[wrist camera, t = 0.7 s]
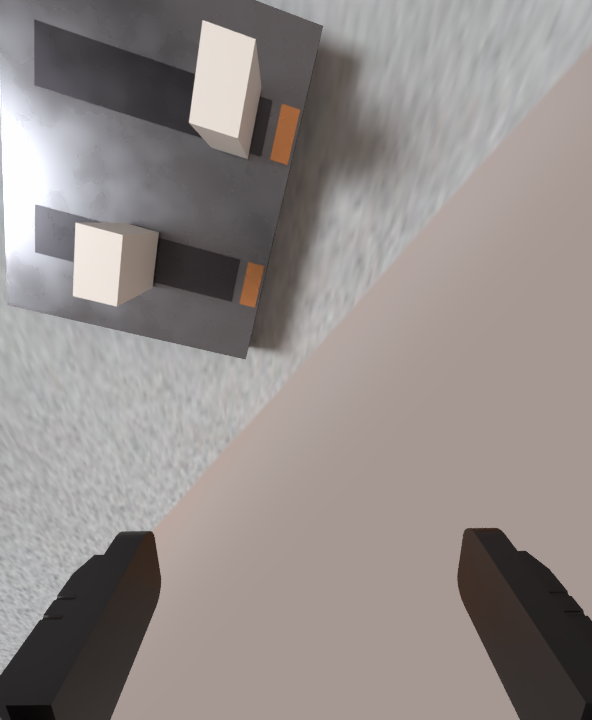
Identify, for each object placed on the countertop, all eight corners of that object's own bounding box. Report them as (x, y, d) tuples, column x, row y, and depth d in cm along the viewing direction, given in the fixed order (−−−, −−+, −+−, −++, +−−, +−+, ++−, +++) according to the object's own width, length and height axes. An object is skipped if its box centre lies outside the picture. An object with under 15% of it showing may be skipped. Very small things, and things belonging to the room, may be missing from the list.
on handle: (211, 147, 22) (188, 122, 17) (222, 74, 21) (202, 19, 15) (247, 159, 23) (237, 138, 17) (261, 87, 21) (255, 39, 16)
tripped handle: (118, 279, 25) (72, 295, 19) (123, 222, 24) (75, 222, 18) (152, 288, 25) (116, 306, 20) (158, 232, 24) (122, 235, 18)
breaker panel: (33, 296, 28) (6, 305, 25) (32, -56, 21) (-8, -101, 18) (248, 346, 31) (245, 359, 28) (317, 49, 23) (323, 25, 20)
